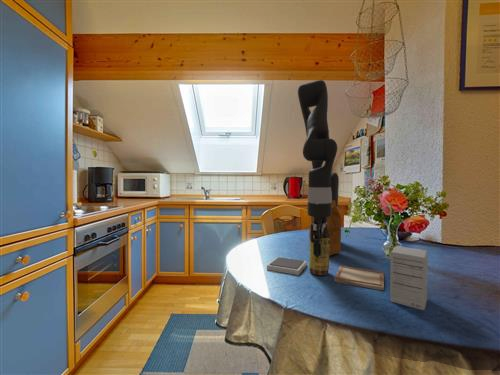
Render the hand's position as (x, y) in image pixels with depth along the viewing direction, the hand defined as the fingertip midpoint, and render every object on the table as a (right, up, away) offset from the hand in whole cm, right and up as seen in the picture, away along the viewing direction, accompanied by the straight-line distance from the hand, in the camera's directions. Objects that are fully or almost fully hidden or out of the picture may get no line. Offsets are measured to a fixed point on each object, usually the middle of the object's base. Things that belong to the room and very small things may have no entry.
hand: (319, 252), depth 83 cm
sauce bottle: (0, -7, 0) cm, 7 cm away
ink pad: (-10, -7, +5) cm, 13 cm away
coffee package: (+8, -6, +23) cm, 25 cm away
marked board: (+11, -7, -4) cm, 14 cm away
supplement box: (+17, -8, -19) cm, 27 cm away
